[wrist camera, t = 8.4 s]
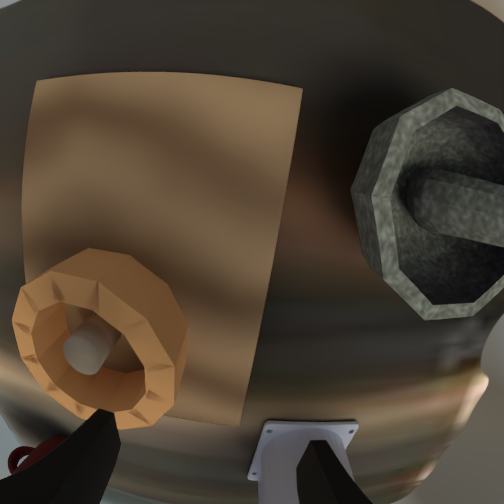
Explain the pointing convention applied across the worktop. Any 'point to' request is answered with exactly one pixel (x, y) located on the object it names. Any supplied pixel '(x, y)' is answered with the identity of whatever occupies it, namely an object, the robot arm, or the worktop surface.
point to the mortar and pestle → (435, 204)
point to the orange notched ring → (119, 316)
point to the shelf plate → (165, 210)
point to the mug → (32, 453)
